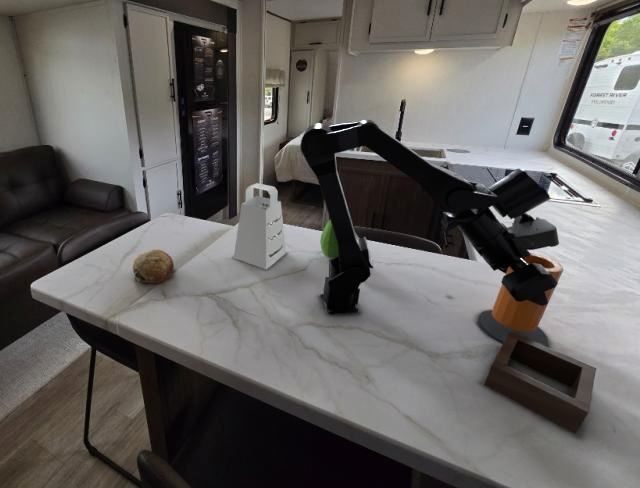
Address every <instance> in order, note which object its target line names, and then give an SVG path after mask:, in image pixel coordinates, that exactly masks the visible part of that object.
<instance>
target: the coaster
mask: <svg viewBox="0 0 640 488" xmlns="http://www.w3.org/2000/svg"><path fill="white" fill-rule="evenodd" d="M492 310H493V309H488V310H484V311H482V312H480V313H479V314H478V317H477V323H478V326H480V328H481V330H483V332H484V333H485V334H487V335H488V336H489V337H491V338H492V339H493V340H495V341H497V342H499V343H501V344H503V342H504V340H505V338H506V337H507V335H508V333H509V331H511V332H513V333H516V334H518V335H520V336H523V337H525V338H527V339H530V340H532V341H534V342H537V343H539V344H541V345H544V346H546V347H547V345H548V343H549V340H548V336H547V334H546V333H545V332H544V331H543V330H542V328H540V327H539V325H538V326H537V328H536V330H535V331H533V332H521V331H517V330H514V329H511V328H508V327H506V326H504V325H503V324H501V323H499V322H498V321H497V320H496V319H495V318H494V317H493V316H492Z"/></svg>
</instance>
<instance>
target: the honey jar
mask: <svg viewBox="0 0 640 488" xmlns="http://www.w3.org/2000/svg"><path fill="white" fill-rule="evenodd" d="M529 253H530V254H531V255H530V256H528V257H526V258H521V259H522V260H523V261H524V262H525V263H526V264H527V265H528V264H530V263H536V264H541V265H542V266H543V267H544V268H545V269H546V270H547V271H548V272H549V273H550V274H551V275H552V276H553V277H554V279H555V280H556V281H557V282H558V283H559V281H560V279H561V277H562V274H563V272H564V266H563V265H562V264H561V263H560V262H559V261H556V260H554V259H552V258H550V257H547V256H544V255H541V254H537V253H533V252H529ZM516 264H517V263H516ZM517 266H518V267H519V268H521V267H520V266H519V265H518V264H517ZM511 272H513V270H512V269H511V268H510V267H508V270H507V272H506V274H505V275H507V274H509V273H511ZM555 290H556V287H555V288H552V289H550V290H548V291H545V294H546V297H547V300H548V304H546V305H544V306H541V305H538V304H536V303H533V302H531V301H529V300H525V301H523V302H518V301H516V300H515V299H514V298H513V297H512V295H511V294H510V293H509V292H508V290H507V289H506V288H505V287H504V285H503V284H502V283H501V286H500V288H499V291H498V293H497V296H496V299H495V301H494V304H493V307H492V309H491V310H492V316H493V317H494V318H495V319H496V320H497V321H498V322H499V323H501V324H503V325H504V326H506V327H508V328H511V329H514V330H517V331H521V332H533V331H535V330H536V328H537V326H538V327H539V325H540V322H541V320H542V318H543V317H544V313H545V311H546V309H547V307H548V305H549V303H550V301H551V299H552V296H553V294H554V292H555Z"/></svg>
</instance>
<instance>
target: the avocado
mask: <svg viewBox="0 0 640 488" xmlns="http://www.w3.org/2000/svg"><path fill="white" fill-rule="evenodd" d="M319 243H320V248H321V252H322V254H323V255H324V256H325V257H327V258H328V259H330V260H332V259H333V258H335V257H336V256H338V243H337V240H336V236H335V233H334V230H333V227H332V224H331V220H330V219H329V220H327V223H326V225H325V227H324V229H323V230H322V233H321V235H320V241H319Z"/></svg>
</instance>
